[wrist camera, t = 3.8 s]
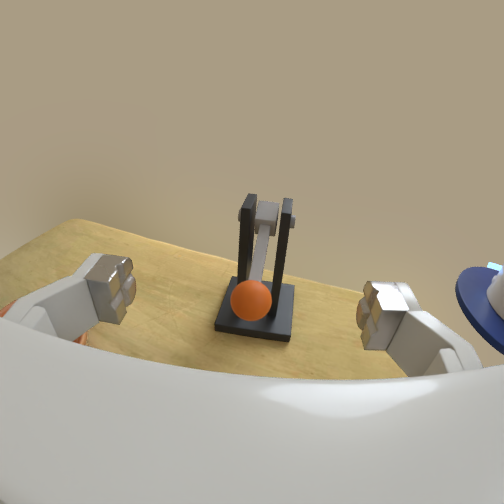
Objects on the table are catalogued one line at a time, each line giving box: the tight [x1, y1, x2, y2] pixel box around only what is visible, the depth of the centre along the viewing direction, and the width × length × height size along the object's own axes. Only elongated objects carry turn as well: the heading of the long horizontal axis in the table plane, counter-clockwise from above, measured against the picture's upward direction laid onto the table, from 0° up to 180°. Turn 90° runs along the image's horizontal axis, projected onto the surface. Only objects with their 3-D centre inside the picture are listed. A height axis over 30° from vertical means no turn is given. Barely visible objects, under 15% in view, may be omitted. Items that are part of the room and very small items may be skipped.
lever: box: [230, 201, 279, 321], centre depth 29 cm, size 13×4×4 cm, turn 171°
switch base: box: [215, 194, 295, 342], centre depth 35 cm, size 10×9×15 cm
